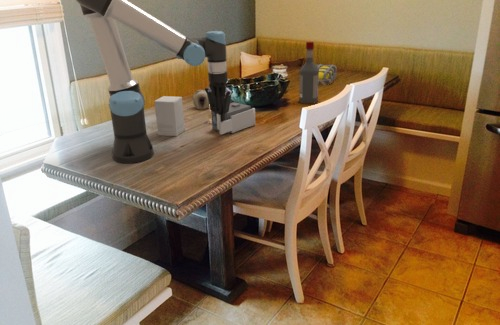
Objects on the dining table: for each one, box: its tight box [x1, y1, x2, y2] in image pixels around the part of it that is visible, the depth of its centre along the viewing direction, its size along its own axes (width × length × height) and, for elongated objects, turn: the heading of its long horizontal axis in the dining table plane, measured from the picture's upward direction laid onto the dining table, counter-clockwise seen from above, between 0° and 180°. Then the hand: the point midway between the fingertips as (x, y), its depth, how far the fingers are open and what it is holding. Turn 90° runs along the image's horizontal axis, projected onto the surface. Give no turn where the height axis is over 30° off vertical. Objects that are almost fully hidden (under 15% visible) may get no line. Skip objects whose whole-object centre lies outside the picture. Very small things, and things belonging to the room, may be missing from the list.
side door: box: [218, 107, 256, 135], centre depth 189 cm, size 21×1×7 cm, turn 138°
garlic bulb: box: [192, 89, 210, 111], centre depth 225 cm, size 9×8×10 cm
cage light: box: [316, 63, 338, 86], centre depth 275 cm, size 15×8×30 cm
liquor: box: [298, 41, 319, 104], centre depth 226 cm, size 9×9×30 cm
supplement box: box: [153, 95, 186, 137], centre depth 189 cm, size 9×9×15 cm
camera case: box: [210, 101, 252, 134], centre depth 194 cm, size 15×10×10 cm
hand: (220, 128), depth 186 cm, fingers closed
